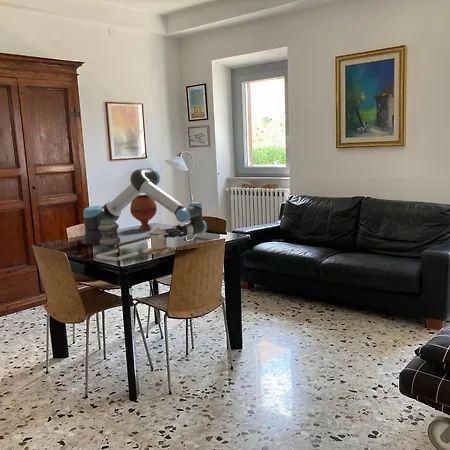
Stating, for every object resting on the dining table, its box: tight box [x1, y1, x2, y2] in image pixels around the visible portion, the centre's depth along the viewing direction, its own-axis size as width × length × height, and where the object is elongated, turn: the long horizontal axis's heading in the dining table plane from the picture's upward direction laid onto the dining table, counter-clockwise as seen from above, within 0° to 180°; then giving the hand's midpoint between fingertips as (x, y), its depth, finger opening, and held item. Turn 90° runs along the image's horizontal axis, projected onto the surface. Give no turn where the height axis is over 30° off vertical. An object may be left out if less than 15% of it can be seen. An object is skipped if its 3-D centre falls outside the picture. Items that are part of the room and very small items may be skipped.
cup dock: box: [95, 249, 139, 262], centre depth 274 cm, size 23×16×2 cm
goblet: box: [129, 194, 158, 231], centre depth 358 cm, size 19×19×25 cm
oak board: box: [140, 246, 176, 256], centre depth 280 cm, size 16×14×1 cm
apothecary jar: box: [98, 220, 121, 253], centre depth 288 cm, size 12×12×18 cm
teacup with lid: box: [150, 227, 168, 249], centre depth 279 cm, size 12×9×12 cm
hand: (152, 235), depth 276 cm, fingers closed on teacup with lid, 11 cm apart
